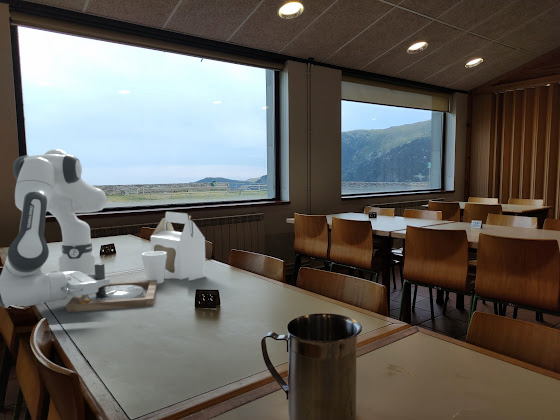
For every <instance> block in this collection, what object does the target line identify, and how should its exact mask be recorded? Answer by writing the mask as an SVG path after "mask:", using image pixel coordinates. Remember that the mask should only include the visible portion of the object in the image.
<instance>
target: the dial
mask: <svg viewBox="0 0 560 420" xmlns="http://www.w3.org/2000/svg"><path fill="white" fill-rule="evenodd" d="M105 269H106V268H105V263H97V264H95V280H96V281H97V280H98V281H99V280H102V279H106V273H105V271H106V270H105ZM144 290H145V288H142V287H140V286H135V285H116V286H109V287H105V285H104V286H102V287H100V288H98V292H97V293H94V294H88V295H87V297H88V298H87V299H90V301H101V300H115V299H129V298H143V297H144V295H145V293H144Z"/></svg>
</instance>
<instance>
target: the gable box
mask: <svg viewBox="0 0 560 420" xmlns="http://www.w3.org/2000/svg"><path fill="white" fill-rule="evenodd" d="M191 219H192V215H189V213H187V212H186V213H185V212H176V211H166V212H165V217H163V218H161V220H160V221H159V223H158V224H157V226H156V227H155V229H154V231H153V232H152V233H151V235H150V252H152V251H164V252H166V253H167V259H166V264H165V274H164V280H165V279H167V280H168V279H177V280H184V279H188V281H194V280H198V279H201V278H206V272H207V271H206V270H207V269H206V237H205V236H204V235H203V233H202V232H201V230H200V229H199V227H198V226H197V225H196V223H195V222H194V221H192V220H191ZM172 223H174V224H184V226H183V229H182V231H181V232H180V231H176V230H174V227H173V224H172Z"/></svg>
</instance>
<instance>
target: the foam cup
mask: <svg viewBox="0 0 560 420" xmlns="http://www.w3.org/2000/svg"><path fill="white" fill-rule="evenodd" d="M166 259H167V253H166V252H164V251H152V252H151V251H146V252H145V251H144V252H142V253H141V260H142V265H143V271H144V275H145V281H146V280H150V281H151V280H157V285H158V284H162V283H164V282H165V278H164V274H165V264H166Z"/></svg>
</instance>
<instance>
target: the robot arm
mask: <svg viewBox="0 0 560 420" xmlns="http://www.w3.org/2000/svg"><path fill="white" fill-rule="evenodd" d="M12 171H13V176H14V179H15V180H16V185H15V189H14V200H15V201H14V204H15V206H16V208H17V209H19V210H20V211H21V217H20V224H19V231H18V234H17V236H16V237H15V238H14V239H13V241H11V243H10V245H9V247H8V249H7V256H6V258H5V262H4V265H3V268H2V271H1V272H0V273H1V274H0V307H2V308H5V309H9V308H8V307H9V306H10V305H17V306H25V307H30V306H34V305H37V304H39V303H53V302H57V301H63V300H66V299H67V298H68V295H71V296H73V297H74V296H80V295H87V294H94V293H97V292H98V288H100V287H102V286H104V285H109V283H110V279H109V278H105V279H102V280H99V281H98V280H97V281H96V280H95V264H98V263H96V262H97V261H96V256H95V254H94V252H93V243H92V242H91V239H92V238H91V228H90V225H89V224H88V223H87V222H86V221H83V220H81V219H79V218H78V217H77V215H76V213H77V214H79V213H82V214H83V213H94V212H99V211H102V210H103V209H104V208H105V207H106V205H107V201H108V200H107V194H106V193H105V191H104V190H102V189H101V188H98V187H95V186H93V185H91V184H90V183H88V182H86V181H85V180H84V179H83V178H82V173H83V172H82V171H83V169H82V164H81V161H80V159H79V158H77V156H75V155H71V154H68V153H67V152H65V151H64V150H62V149H59V148H56V149H50V150H47V151H46V152H45V153H44V154H36V155H34V154H33V155H28V154H27V155H22V156H19V157H17V158H16V159H15V160H14V162H13V165H12ZM47 212H49V213H50V214H51V215H52V216H53V217H55V218H56V221H57V222H58V224H59V227H60V230H61V236H62V244H61V253H62V255H61V256H59V258H58V270H57V271H55V270H54V271H50V272H46V273H43V272H42V267H43V266H44V264H45V263H46V262H47V260H48V258H49V254H50V253H49V252H50V250H49V246H48V243H47V241H46V237H45V227H46V224H45V223H46V216H47V215H46V214H47ZM87 296H88V295H87Z"/></svg>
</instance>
